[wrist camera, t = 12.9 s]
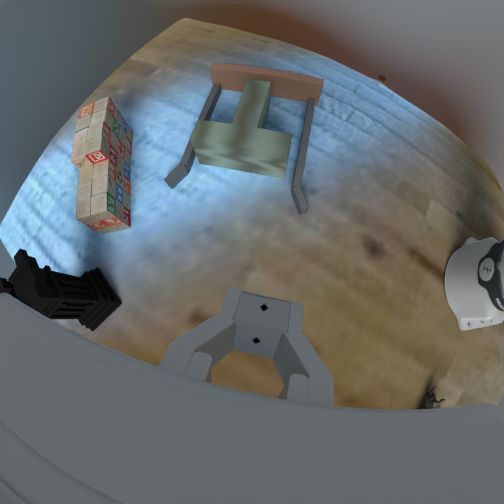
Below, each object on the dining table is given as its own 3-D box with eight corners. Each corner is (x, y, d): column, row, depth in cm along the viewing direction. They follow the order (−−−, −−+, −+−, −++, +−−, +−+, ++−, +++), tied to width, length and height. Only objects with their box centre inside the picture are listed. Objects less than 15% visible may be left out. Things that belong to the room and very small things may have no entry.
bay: (323, 100, 49) (329, 80, 43) (305, 216, 44) (312, 203, 38) (211, 82, 51) (207, 62, 45) (167, 188, 46) (155, 173, 40)
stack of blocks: (132, 228, 45) (96, 204, 33) (102, 234, 45) (63, 214, 33) (133, 131, 49) (109, 95, 37) (107, 139, 49) (80, 106, 37)
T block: (296, 114, 48) (301, 87, 41) (283, 179, 46) (287, 155, 38) (222, 103, 49) (218, 75, 42) (199, 163, 47) (190, 139, 39)
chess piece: (93, 330, 41) (13, 337, 22) (72, 295, 43) (-7, 284, 23) (121, 303, 42) (42, 298, 23) (98, 268, 43) (20, 243, 24)
